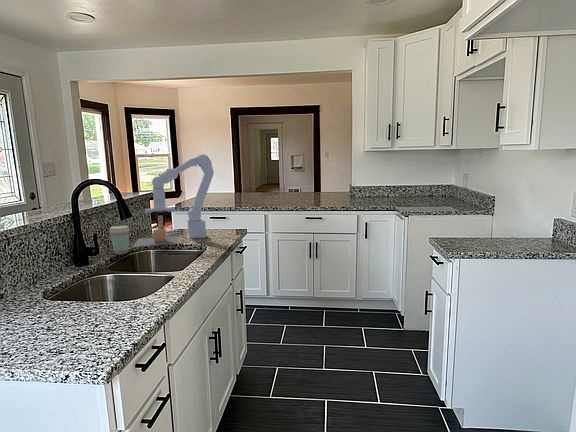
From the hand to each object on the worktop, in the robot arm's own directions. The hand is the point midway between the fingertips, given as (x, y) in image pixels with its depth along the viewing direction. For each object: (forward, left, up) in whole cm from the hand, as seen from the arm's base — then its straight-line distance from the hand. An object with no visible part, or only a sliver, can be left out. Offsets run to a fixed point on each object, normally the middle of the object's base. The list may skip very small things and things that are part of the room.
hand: (161, 225), depth 200 cm
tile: (0, +6, -7) cm, 9 cm away
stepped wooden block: (0, 0, -3) cm, 3 cm away
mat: (+2, +6, -7) cm, 10 cm away
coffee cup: (+15, +24, -7) cm, 30 cm away
